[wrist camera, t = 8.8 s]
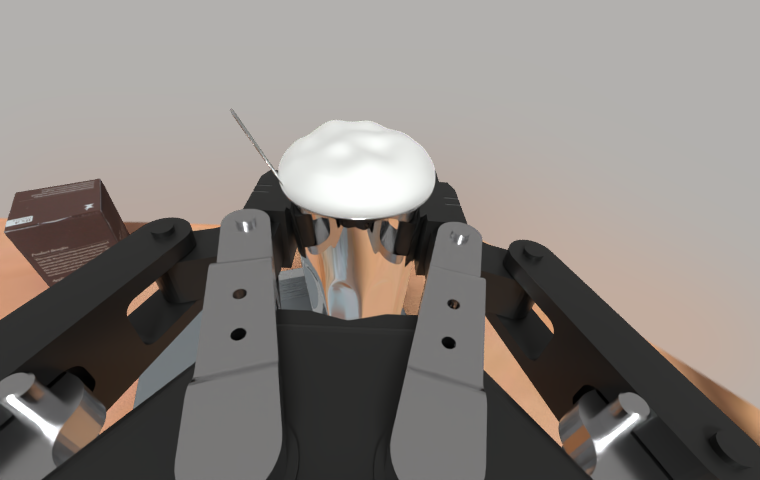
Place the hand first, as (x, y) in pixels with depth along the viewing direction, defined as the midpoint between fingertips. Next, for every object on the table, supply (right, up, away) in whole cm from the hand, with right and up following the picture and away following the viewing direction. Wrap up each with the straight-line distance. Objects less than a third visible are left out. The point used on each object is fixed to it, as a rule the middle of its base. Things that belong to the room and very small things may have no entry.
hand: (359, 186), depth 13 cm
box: (-26, -5, +19) cm, 33 cm away
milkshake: (-1, -7, +2) cm, 7 cm away
